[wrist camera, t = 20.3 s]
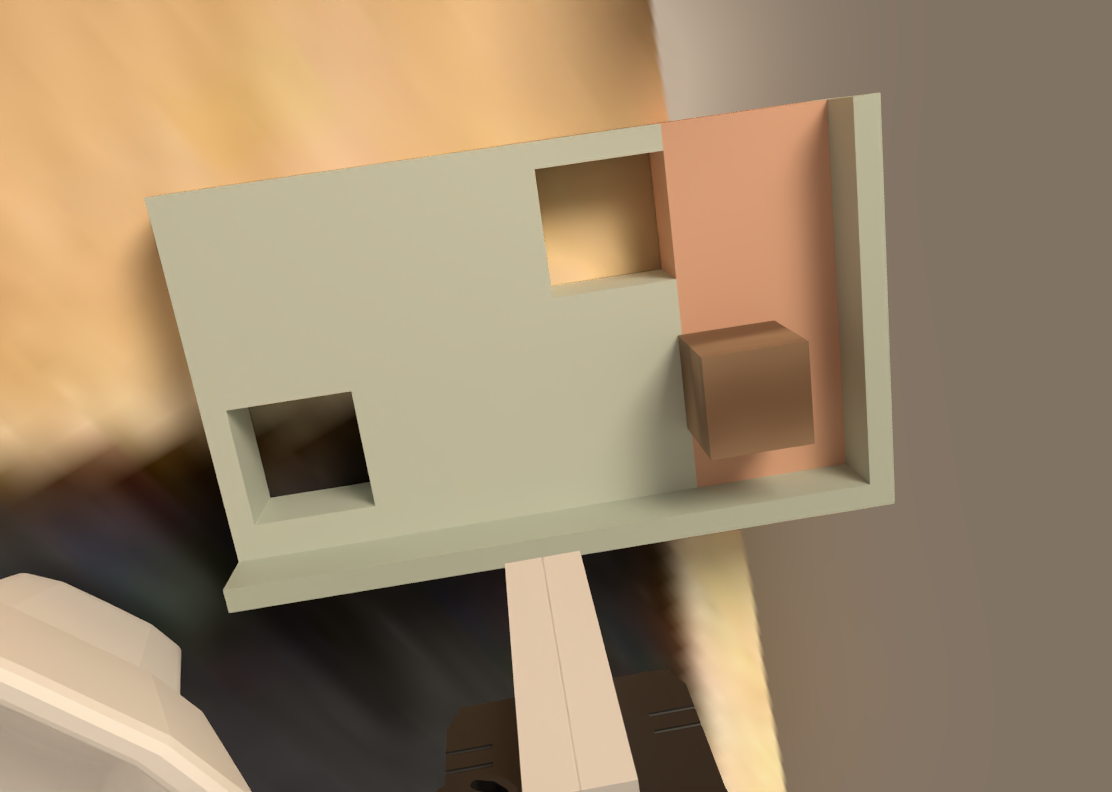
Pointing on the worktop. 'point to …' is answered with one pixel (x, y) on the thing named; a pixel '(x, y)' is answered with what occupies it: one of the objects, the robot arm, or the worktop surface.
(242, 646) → the worktop surface
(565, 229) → the worktop surface
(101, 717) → the bowl
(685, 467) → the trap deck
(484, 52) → the worktop surface
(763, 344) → the walnut block
